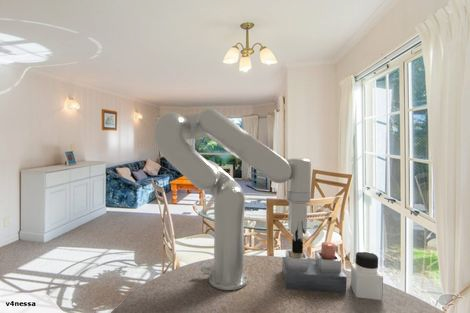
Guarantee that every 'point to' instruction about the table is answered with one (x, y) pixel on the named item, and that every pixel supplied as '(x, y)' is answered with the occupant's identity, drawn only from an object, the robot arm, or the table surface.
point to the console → (313, 273)
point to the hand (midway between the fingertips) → (297, 252)
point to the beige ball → (296, 254)
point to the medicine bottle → (366, 276)
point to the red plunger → (328, 250)
